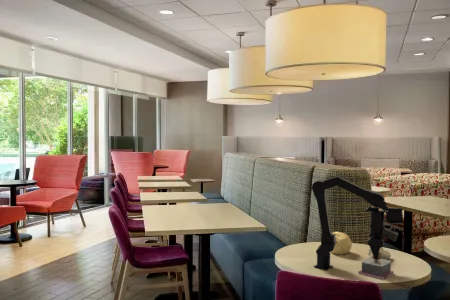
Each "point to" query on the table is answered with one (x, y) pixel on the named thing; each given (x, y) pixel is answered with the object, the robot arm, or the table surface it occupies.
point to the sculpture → (342, 243)
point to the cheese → (384, 253)
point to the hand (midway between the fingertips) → (376, 257)
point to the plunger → (378, 257)
